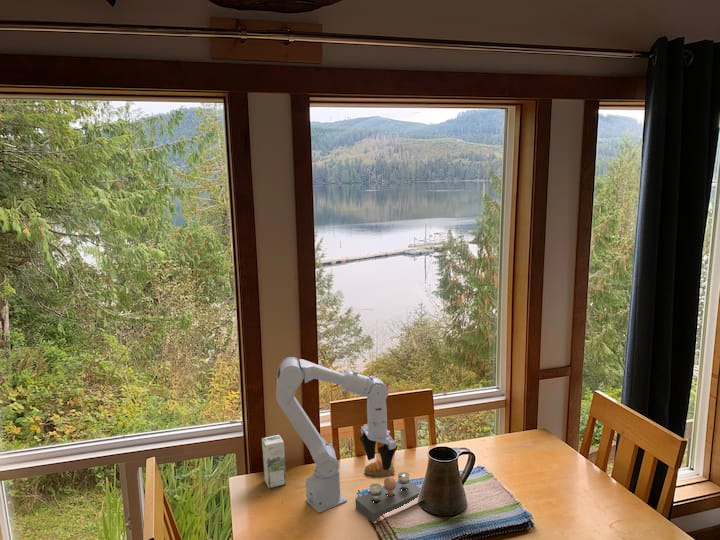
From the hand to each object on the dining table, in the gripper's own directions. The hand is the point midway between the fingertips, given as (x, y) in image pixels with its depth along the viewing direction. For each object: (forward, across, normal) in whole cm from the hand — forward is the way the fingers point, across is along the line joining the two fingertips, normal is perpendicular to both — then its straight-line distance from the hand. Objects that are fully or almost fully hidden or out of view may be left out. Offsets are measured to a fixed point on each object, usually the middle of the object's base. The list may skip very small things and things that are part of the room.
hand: (378, 463), depth 157 cm
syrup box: (+10, +26, +22) cm, 35 cm away
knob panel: (+9, -7, +1) cm, 12 cm away
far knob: (+7, -7, -4) cm, 10 cm away
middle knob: (+7, -7, +1) cm, 10 cm away
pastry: (+10, +10, -8) cm, 16 cm away
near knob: (+7, -7, +6) cm, 11 cm away
